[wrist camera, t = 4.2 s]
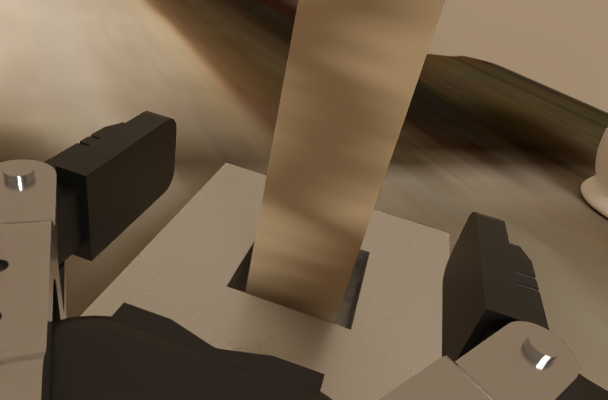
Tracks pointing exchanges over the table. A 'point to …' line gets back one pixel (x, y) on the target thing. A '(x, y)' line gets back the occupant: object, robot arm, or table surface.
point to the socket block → (281, 320)
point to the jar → (598, 180)
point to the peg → (334, 144)
